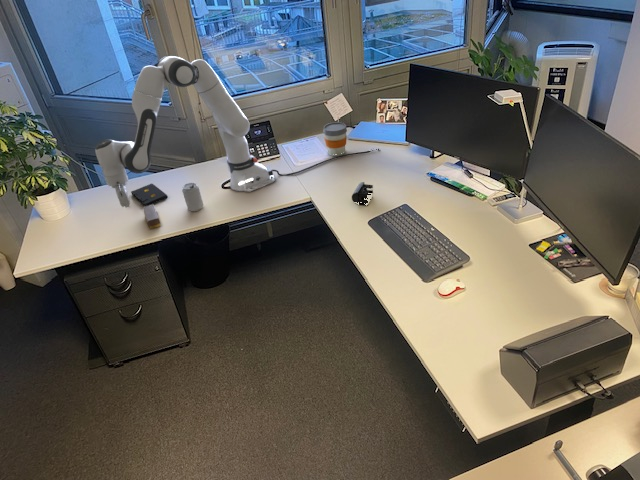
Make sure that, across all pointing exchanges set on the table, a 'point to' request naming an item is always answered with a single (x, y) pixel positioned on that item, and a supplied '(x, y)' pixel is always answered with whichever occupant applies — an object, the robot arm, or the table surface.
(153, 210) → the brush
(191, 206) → the can
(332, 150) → the reusable coffee cup
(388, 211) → the table surface
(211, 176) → the table surface
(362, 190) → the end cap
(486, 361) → the table surface
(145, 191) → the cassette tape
